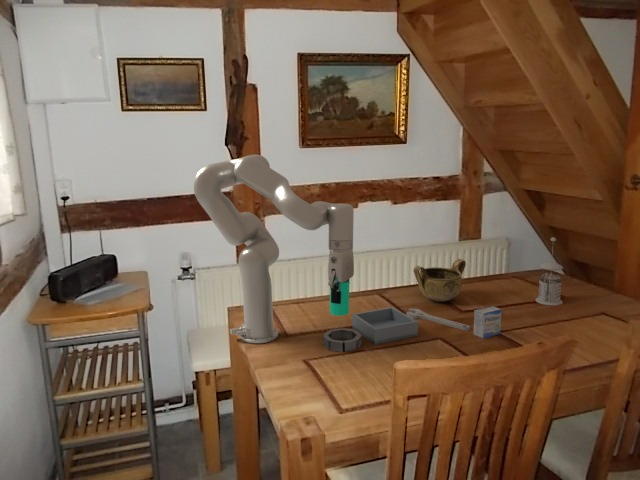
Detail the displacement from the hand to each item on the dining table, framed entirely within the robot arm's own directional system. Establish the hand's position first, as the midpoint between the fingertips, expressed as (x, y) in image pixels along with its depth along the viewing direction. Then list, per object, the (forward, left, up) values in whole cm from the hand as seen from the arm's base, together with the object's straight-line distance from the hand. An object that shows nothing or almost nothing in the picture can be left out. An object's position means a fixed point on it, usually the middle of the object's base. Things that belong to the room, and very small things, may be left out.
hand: (340, 299), depth 176 cm
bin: (+17, +3, -15) cm, 23 cm away
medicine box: (+46, -14, -15) cm, 51 cm away
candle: (0, 0, -4) cm, 4 cm away
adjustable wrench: (+38, +3, -16) cm, 41 cm away
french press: (+88, +1, -15) cm, 90 cm away
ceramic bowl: (+54, +22, -15) cm, 60 cm away
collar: (0, 0, -15) cm, 15 cm away
